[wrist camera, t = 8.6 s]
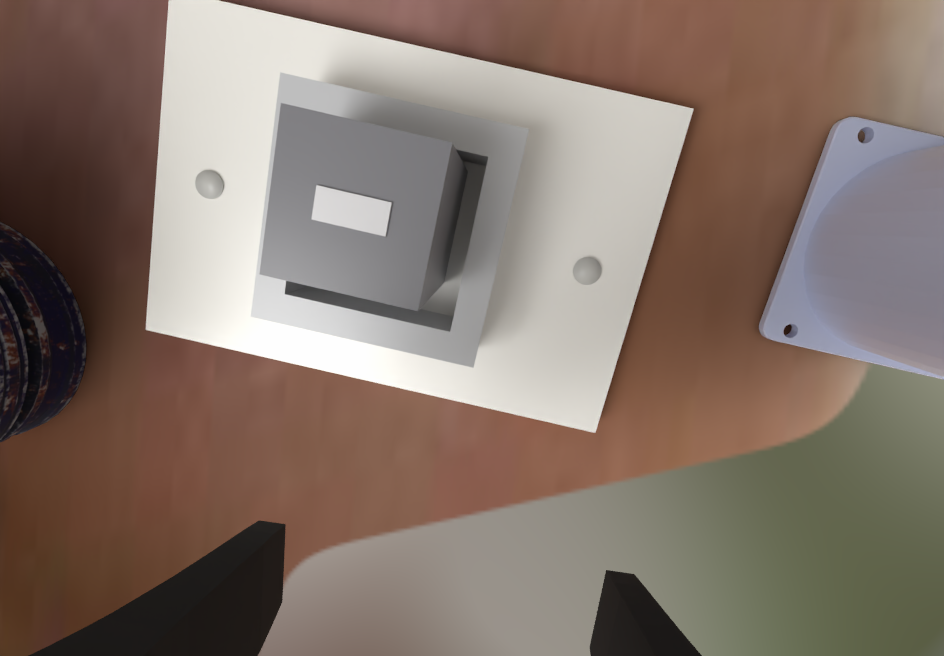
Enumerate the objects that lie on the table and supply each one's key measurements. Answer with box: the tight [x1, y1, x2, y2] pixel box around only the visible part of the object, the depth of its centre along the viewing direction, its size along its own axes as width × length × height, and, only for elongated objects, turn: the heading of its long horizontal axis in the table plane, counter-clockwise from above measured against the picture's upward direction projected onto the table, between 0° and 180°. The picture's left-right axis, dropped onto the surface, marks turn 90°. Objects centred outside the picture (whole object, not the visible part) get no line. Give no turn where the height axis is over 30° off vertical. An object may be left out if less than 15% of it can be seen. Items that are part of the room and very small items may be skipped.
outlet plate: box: [146, 0, 694, 433], centre depth 16 cm, size 18×12×4 cm, turn 78°
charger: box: [259, 103, 468, 311], centre depth 14 cm, size 4×4×6 cm
